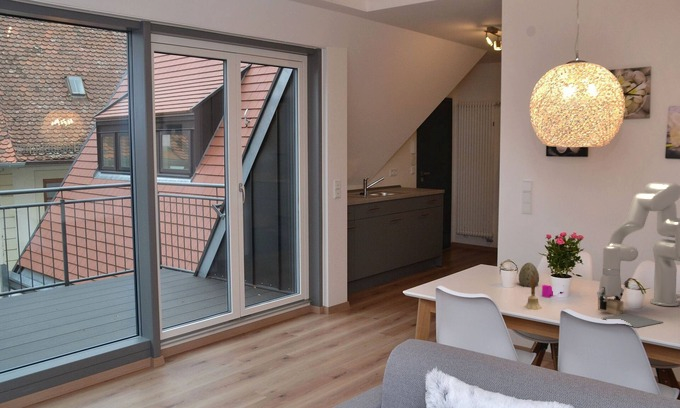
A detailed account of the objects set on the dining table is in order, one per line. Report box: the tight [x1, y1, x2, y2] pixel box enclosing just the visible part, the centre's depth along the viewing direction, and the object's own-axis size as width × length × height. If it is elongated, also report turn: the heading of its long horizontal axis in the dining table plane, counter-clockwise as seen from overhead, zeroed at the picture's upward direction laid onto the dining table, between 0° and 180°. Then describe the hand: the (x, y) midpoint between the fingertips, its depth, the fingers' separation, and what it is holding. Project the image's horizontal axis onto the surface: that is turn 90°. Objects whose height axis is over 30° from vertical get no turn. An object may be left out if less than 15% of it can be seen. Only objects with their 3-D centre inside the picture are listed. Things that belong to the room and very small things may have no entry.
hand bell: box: [524, 276, 543, 310], centre depth 297 cm, size 8×8×16 cm
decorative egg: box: [518, 262, 540, 288], centre depth 340 cm, size 11×11×15 cm
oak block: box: [597, 297, 624, 315], centre depth 289 cm, size 5×10×6 cm, turn 28°
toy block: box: [541, 284, 554, 299], centre depth 321 cm, size 15×6×8 cm, turn 131°
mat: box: [602, 312, 664, 329], centre depth 273 cm, size 18×18×1 cm
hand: (610, 308), depth 289 cm, fingers open, 9 cm apart
